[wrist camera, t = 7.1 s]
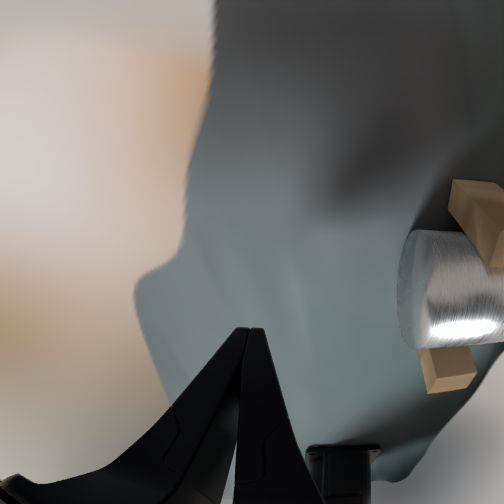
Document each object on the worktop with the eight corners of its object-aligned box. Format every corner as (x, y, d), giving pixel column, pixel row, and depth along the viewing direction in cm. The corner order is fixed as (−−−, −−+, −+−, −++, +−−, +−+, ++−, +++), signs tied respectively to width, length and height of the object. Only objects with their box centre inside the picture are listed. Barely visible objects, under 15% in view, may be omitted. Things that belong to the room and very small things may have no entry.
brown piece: (448, 330, 13) (466, 388, 10) (412, 333, 14) (427, 393, 11) (495, 182, 9) (546, 232, 6) (452, 178, 9) (500, 230, 6)
